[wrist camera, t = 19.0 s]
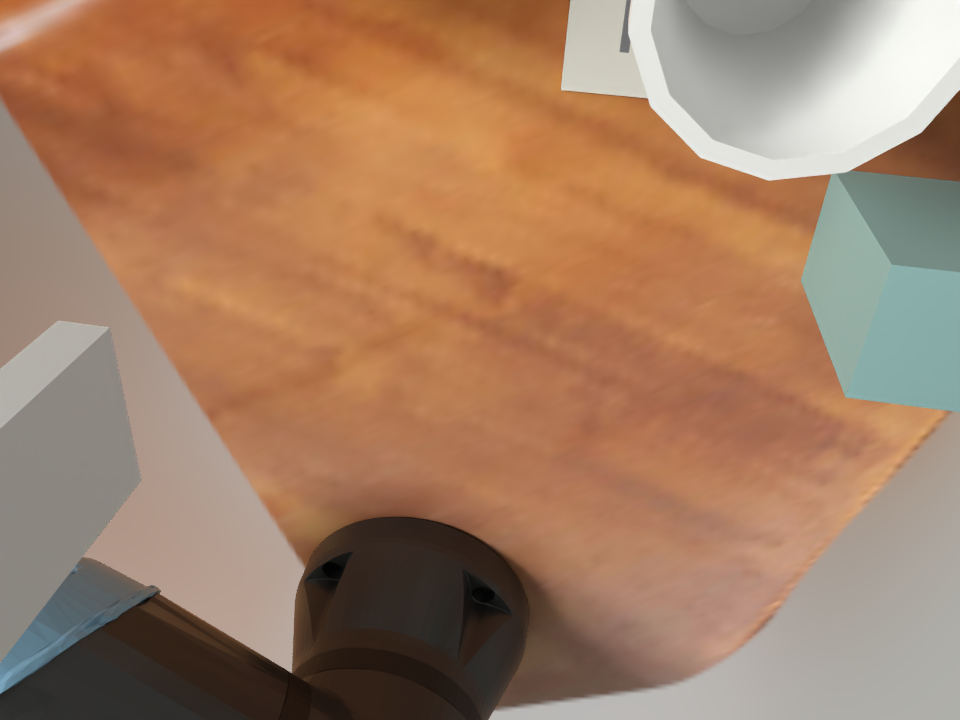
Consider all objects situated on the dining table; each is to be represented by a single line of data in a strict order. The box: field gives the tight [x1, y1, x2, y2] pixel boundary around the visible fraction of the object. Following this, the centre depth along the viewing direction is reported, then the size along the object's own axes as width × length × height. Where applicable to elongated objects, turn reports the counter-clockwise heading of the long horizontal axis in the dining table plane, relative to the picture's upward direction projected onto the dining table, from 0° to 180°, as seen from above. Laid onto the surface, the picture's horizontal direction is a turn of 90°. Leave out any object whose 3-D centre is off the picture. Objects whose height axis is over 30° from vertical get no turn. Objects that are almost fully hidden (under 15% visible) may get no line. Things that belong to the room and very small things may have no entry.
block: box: [801, 170, 960, 412], centre depth 34 cm, size 6×6×10 cm
